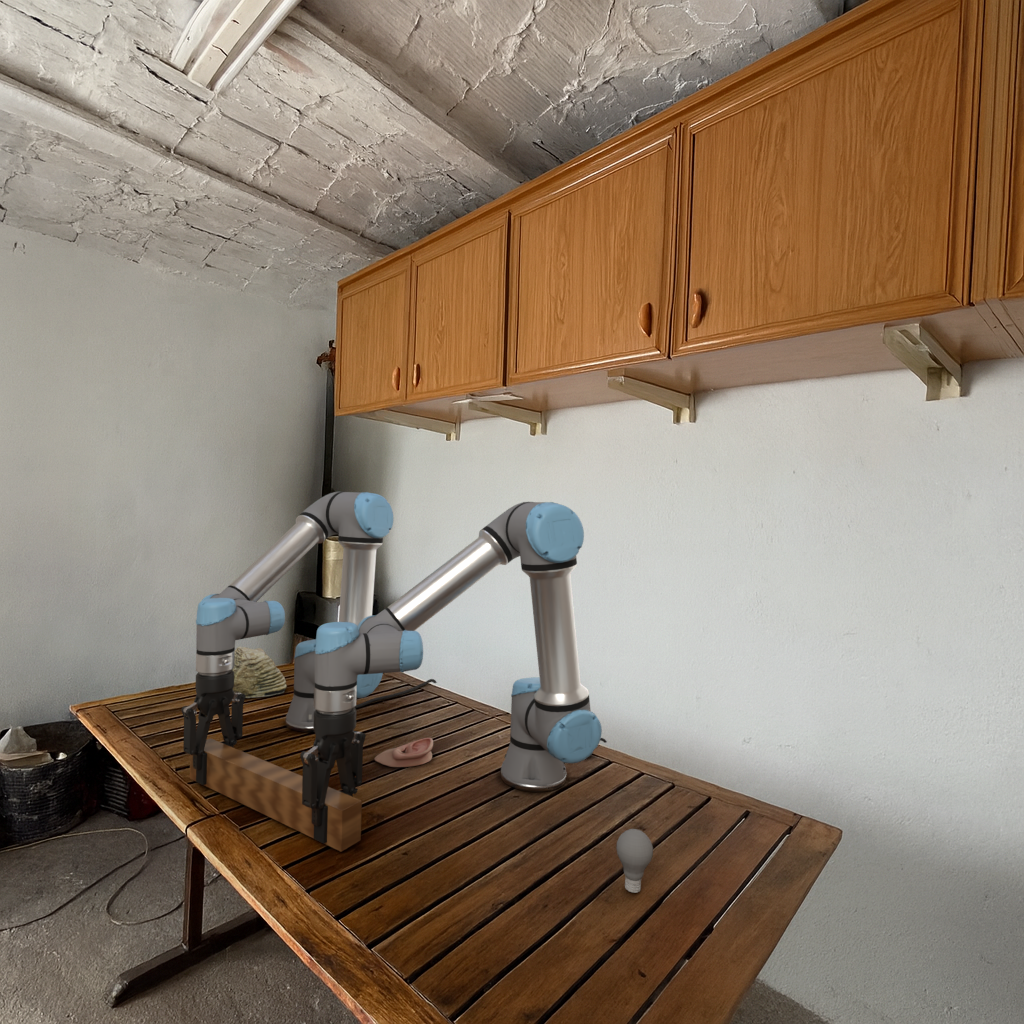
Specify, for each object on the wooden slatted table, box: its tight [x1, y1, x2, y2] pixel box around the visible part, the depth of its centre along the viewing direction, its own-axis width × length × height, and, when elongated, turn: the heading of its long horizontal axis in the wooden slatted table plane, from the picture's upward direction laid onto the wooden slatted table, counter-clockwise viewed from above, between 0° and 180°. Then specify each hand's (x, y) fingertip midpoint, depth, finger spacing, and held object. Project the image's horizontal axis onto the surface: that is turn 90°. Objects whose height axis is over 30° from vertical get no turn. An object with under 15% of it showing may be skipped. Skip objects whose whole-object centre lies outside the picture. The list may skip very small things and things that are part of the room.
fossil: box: [232, 646, 288, 699], centre depth 198 cm, size 9×18×15 cm, turn 132°
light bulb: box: [615, 828, 654, 894], centre depth 106 cm, size 6×6×10 cm
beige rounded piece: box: [374, 737, 434, 768], centre depth 155 cm, size 13×4×12 cm
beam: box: [189, 738, 363, 852], centre depth 126 cm, size 47×5×7 cm, turn 57°
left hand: (213, 777), depth 137 cm, fingers closed on beam, 5 cm apart
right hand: (332, 833), depth 116 cm, fingers closed on beam, 5 cm apart
